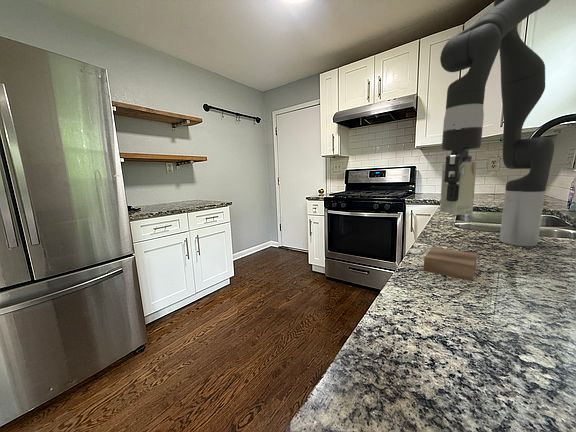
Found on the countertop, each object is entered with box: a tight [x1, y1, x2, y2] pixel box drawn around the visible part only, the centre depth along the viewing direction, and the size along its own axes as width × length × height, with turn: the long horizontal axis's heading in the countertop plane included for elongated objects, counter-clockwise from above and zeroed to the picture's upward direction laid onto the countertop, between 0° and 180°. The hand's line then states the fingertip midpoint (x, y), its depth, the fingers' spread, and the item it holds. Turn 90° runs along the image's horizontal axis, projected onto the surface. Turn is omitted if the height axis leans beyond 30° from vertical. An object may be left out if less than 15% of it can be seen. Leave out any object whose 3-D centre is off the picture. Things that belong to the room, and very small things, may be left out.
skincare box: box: [439, 161, 477, 216], centre depth 60 cm, size 6×4×12 cm
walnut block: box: [423, 246, 478, 282], centre depth 63 cm, size 10×10×4 cm
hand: (456, 199), depth 60 cm, fingers closed on skincare box, 7 cm apart
